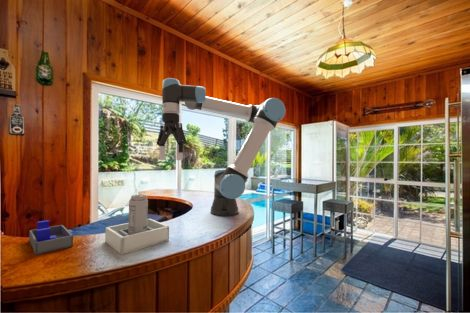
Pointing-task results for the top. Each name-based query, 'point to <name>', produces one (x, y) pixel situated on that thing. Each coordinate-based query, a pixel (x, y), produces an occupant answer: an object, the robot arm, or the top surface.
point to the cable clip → (44, 231)
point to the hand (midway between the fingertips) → (170, 160)
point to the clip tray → (61, 241)
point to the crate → (136, 236)
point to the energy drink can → (138, 214)
